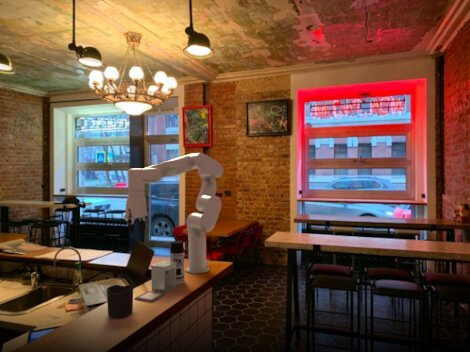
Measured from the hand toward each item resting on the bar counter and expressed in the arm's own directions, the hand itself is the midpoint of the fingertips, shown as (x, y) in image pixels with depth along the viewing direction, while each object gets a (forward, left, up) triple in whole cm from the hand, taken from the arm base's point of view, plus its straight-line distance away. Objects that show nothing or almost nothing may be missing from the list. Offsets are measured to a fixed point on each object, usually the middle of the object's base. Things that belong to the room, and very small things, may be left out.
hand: (136, 231), depth 158 cm
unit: (0, +16, -26) cm, 30 cm away
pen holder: (+29, +17, -26) cm, 43 cm away
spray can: (-10, +16, -26) cm, 32 cm away
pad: (+10, +16, -26) cm, 32 cm away
